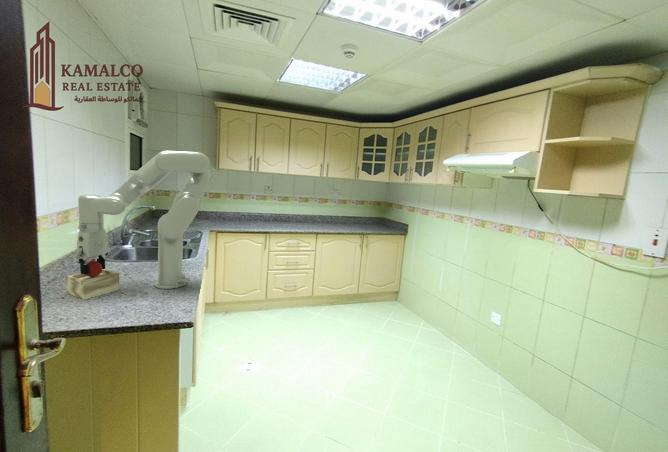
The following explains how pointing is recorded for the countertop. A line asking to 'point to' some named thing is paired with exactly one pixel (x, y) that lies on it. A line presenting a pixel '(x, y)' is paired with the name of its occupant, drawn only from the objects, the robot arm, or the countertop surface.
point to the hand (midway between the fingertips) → (93, 270)
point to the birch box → (92, 284)
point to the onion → (94, 268)
